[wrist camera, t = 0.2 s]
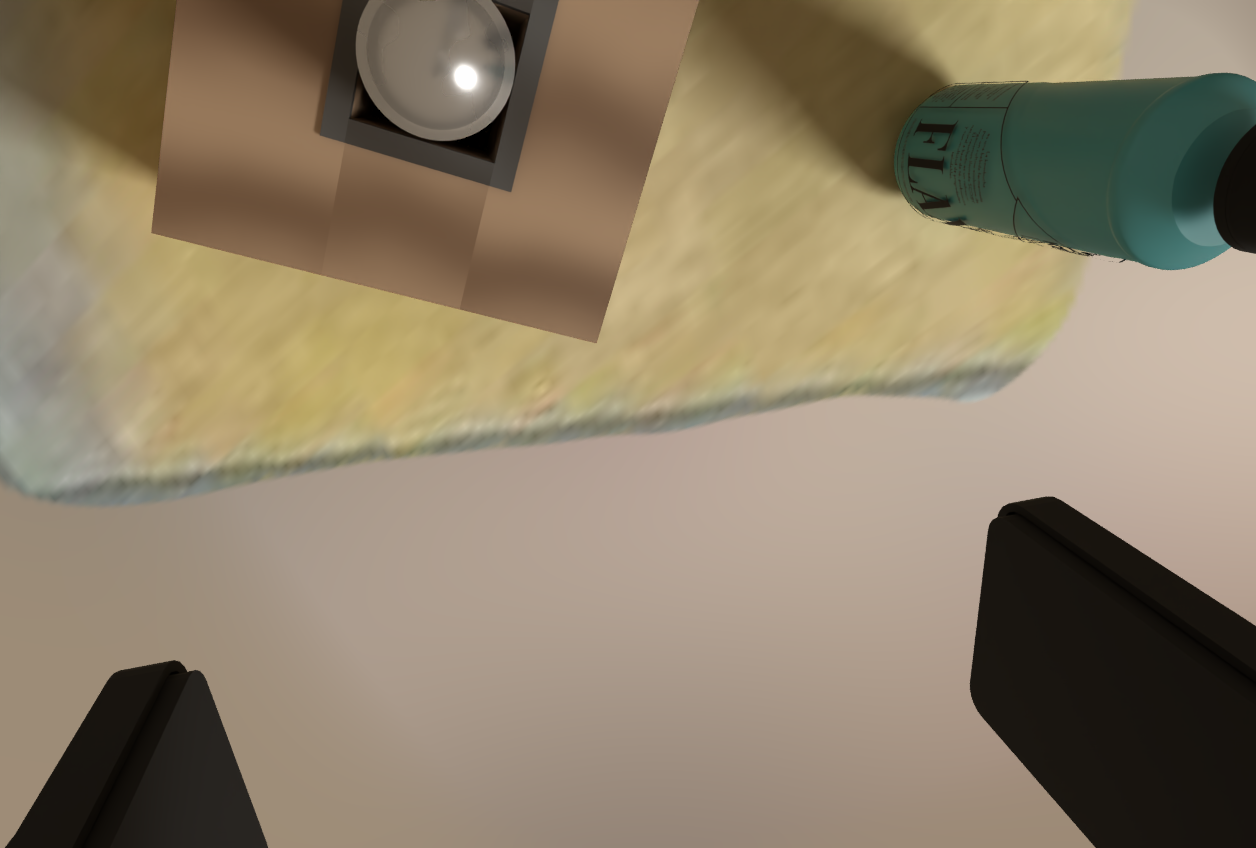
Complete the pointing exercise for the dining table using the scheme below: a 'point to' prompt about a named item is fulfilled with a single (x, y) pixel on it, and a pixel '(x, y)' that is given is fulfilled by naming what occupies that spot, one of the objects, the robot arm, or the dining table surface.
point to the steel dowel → (436, 64)
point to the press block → (420, 155)
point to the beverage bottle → (1092, 164)
